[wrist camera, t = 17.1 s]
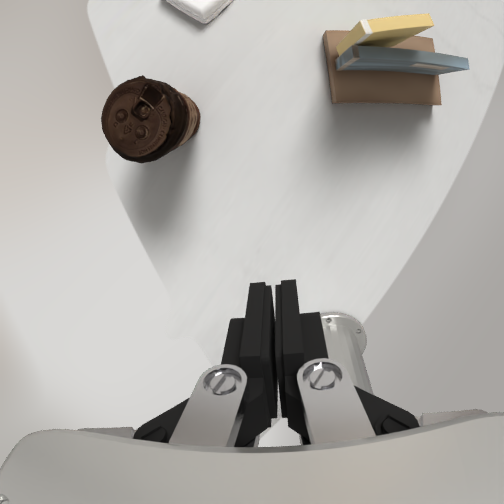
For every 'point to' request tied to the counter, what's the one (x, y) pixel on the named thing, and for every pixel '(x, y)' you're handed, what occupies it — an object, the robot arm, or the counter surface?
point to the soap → (200, 8)
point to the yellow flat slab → (385, 31)
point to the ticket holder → (388, 71)
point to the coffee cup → (148, 119)
